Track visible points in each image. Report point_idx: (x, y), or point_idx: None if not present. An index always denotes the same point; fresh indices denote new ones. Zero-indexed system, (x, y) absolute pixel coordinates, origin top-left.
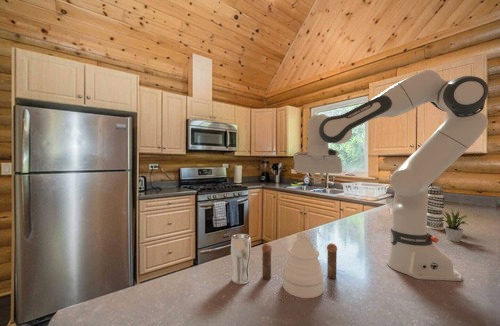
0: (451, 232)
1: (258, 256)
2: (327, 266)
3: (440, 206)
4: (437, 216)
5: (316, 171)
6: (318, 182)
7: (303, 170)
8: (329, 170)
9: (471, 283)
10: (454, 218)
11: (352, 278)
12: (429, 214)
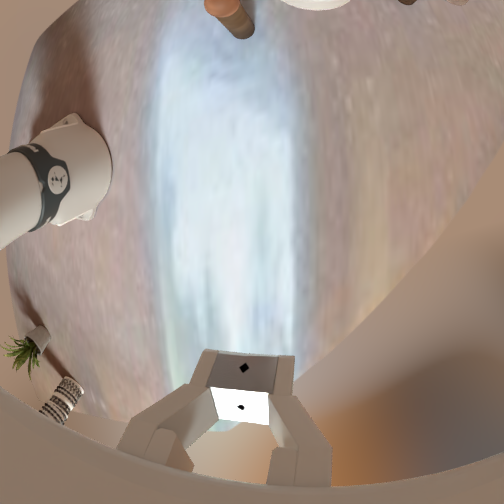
0: (36, 336)
1: (460, 115)
2: (249, 18)
3: (45, 404)
4: (57, 393)
5: (216, 501)
6: (230, 356)
7: (487, 491)
8: (16, 434)
9: (23, 144)
10: (18, 350)
11: (192, 45)
12: (66, 401)
